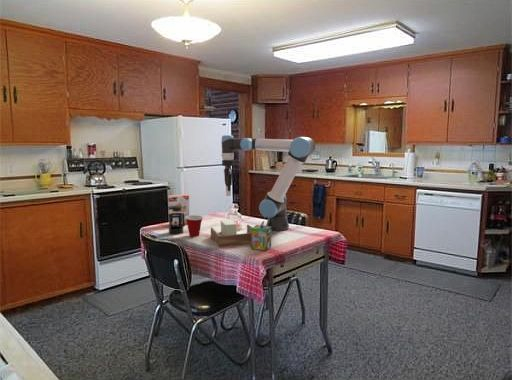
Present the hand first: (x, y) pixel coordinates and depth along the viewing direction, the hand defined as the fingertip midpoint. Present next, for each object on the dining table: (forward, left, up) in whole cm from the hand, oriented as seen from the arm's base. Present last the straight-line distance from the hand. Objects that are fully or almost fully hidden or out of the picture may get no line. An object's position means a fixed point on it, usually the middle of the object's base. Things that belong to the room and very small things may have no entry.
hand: (228, 195), depth 239 cm
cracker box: (+36, -14, -23) cm, 45 cm away
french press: (+33, +8, -23) cm, 41 cm away
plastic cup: (+20, +16, -23) cm, 34 cm away
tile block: (-1, +13, -23) cm, 26 cm away
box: (-5, +26, -22) cm, 35 cm away
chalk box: (-21, +43, -23) cm, 53 cm away
